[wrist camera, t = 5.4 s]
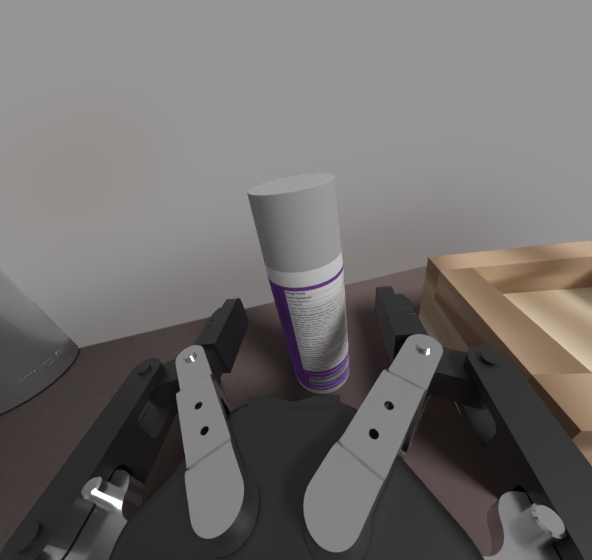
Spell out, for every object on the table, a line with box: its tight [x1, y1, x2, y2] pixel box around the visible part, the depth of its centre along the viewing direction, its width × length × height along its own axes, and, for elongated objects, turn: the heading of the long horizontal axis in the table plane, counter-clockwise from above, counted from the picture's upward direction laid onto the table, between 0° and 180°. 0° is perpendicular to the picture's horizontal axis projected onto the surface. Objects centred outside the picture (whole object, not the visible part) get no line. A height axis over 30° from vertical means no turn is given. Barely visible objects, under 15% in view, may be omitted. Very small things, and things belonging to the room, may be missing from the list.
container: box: [248, 173, 349, 394], centre depth 15 cm, size 5×5×15 cm
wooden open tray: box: [419, 240, 592, 466], centre depth 13 cm, size 12×12×8 cm
